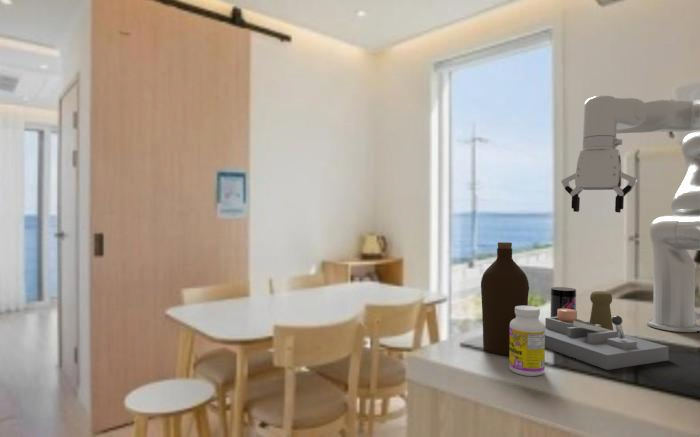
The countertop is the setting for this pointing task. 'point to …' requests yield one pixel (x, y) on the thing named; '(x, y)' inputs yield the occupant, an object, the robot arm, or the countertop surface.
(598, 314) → the cork
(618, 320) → the toggle lever
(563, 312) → the button
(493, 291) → the olive oil
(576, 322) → the rocker
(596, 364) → the panel
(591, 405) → the countertop surface
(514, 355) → the supplement bottle
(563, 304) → the supplement container
